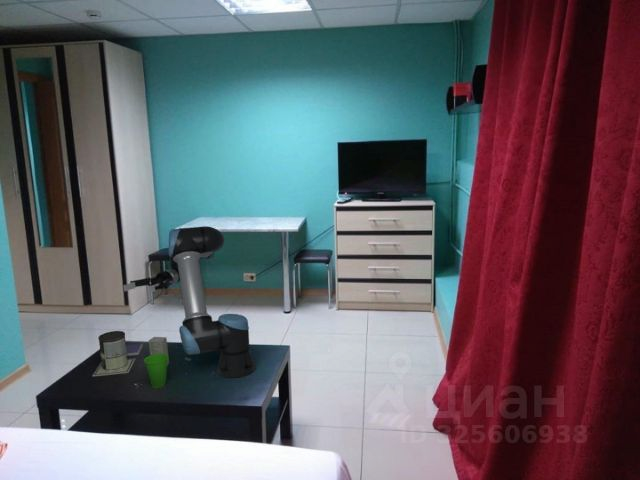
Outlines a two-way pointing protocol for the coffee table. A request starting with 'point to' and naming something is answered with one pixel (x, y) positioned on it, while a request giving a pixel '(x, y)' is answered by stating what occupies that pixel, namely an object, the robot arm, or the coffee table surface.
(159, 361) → the cup
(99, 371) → the cream square tile
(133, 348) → the ink pad
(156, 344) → the skincare box
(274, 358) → the coffee table surface
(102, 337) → the coffee can
